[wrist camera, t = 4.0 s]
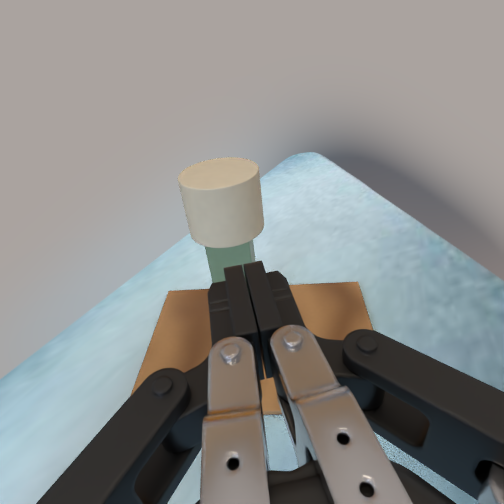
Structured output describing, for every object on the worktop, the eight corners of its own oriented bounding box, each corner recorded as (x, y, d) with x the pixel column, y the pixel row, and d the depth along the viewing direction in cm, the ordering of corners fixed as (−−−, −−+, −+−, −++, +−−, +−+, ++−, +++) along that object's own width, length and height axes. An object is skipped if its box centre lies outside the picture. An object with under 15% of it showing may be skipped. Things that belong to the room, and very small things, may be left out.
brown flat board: (125, 416, 27) (123, 413, 26) (169, 294, 38) (168, 290, 38) (397, 413, 25) (398, 409, 25) (357, 285, 36) (358, 281, 36)
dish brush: (214, 371, 29) (168, 192, 20) (222, 326, 33) (186, 160, 24) (276, 370, 28) (257, 185, 19) (275, 324, 32) (259, 154, 23)
